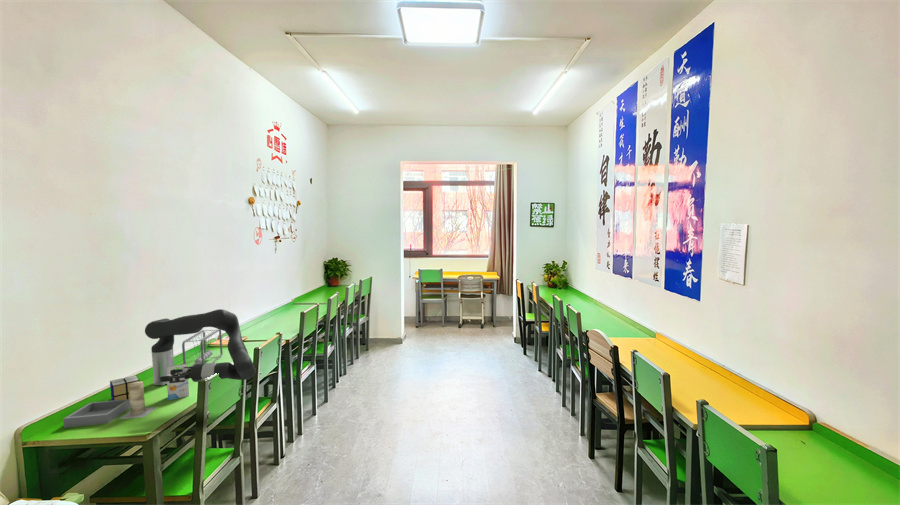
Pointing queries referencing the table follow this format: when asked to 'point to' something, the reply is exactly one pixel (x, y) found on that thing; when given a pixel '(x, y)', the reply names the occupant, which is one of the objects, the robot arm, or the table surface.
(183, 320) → the robot arm
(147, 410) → the rubber mat
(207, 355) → the newton's cradle
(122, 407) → the tray
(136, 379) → the puzzle cube
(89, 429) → the table surface
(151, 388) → the table surface
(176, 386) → the ink box
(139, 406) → the wooden canister
